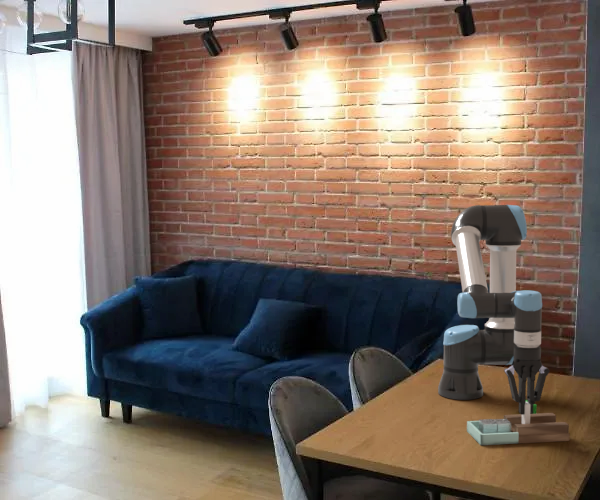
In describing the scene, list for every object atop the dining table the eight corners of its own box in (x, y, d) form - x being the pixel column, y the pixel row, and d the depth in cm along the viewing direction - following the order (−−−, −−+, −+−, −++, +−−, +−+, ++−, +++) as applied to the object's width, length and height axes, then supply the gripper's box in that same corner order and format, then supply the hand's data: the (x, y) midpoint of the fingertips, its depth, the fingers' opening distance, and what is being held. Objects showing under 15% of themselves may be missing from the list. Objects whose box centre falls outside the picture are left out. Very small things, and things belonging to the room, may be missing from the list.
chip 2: (492, 432, 227) (492, 419, 226) (506, 432, 227) (506, 418, 227) (497, 437, 223) (497, 423, 222) (511, 436, 223) (511, 423, 223)
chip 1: (478, 433, 227) (479, 419, 226) (492, 432, 227) (492, 419, 227) (483, 437, 223) (483, 424, 222) (497, 437, 223) (497, 423, 223)
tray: (466, 431, 230) (466, 421, 230) (502, 429, 231) (502, 419, 231) (480, 445, 218) (480, 434, 218) (518, 443, 219) (518, 433, 219)
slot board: (502, 429, 231) (503, 414, 231) (551, 426, 233) (551, 412, 232) (518, 443, 219) (518, 427, 219) (569, 440, 221) (569, 425, 221)
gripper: (510, 348, 219) (508, 430, 221) (554, 347, 220) (552, 428, 222) (500, 342, 226) (499, 421, 229) (543, 341, 227) (542, 419, 230)
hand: (525, 424), depth 225 cm, fingers closed
